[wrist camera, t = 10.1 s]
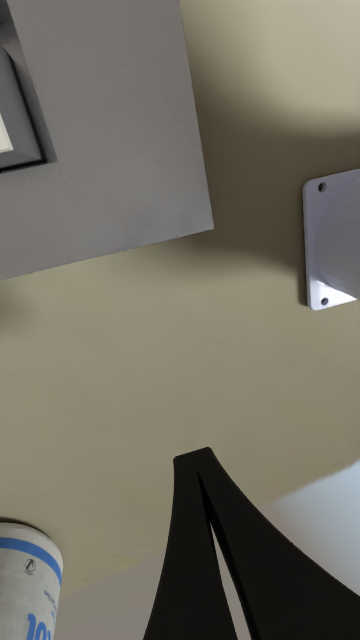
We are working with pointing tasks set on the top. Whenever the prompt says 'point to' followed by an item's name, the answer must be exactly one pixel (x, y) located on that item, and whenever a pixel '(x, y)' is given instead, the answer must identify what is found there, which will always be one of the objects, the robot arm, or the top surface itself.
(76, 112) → the socket plate
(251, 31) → the top surface
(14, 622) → the supplement tub
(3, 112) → the plug
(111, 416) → the top surface
